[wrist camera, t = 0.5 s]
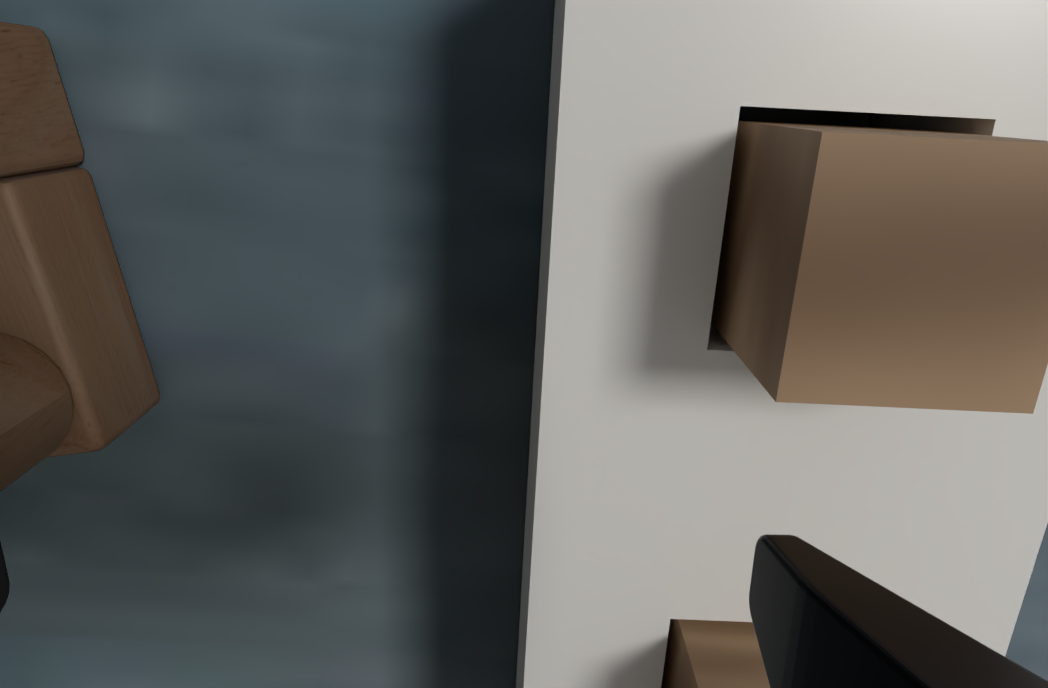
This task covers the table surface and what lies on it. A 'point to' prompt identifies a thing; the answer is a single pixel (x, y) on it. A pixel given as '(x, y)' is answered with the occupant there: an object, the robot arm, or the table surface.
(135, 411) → the wooden block
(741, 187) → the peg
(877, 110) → the white peg base
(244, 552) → the table surface
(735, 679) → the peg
